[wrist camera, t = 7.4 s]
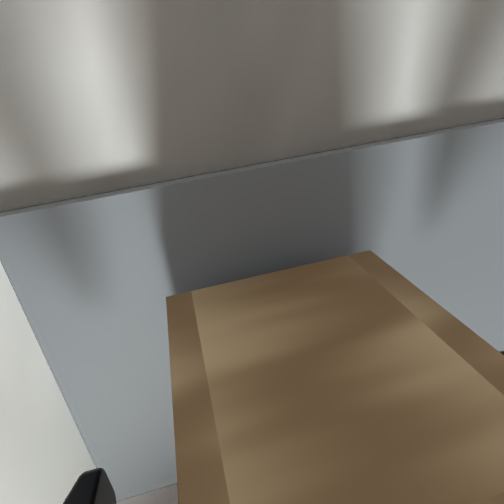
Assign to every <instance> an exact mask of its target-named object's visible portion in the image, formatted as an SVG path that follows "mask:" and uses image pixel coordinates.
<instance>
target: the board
mask: <svg viewBox="0 0 504 504" xmlns="http://www.w3.org/2000/svg"><path fill="white" fill-rule="evenodd" d="M368 250H371V251H372V252H373V253H374V254H376V255H377V256H378V257H380V258H381V259H382V260H383V261H385V262H386V263H387V264H388V265H390V266H391V267H392V268H393V269H395V270H396V271H397V272H399V273H400V274H401V275H402V276H404V277H405V278H406V279H407V280H409V281H410V282H411V283H412V284H414V285H415V286H416V287H418V288H419V289H420V290H421V291H423V292H424V293H425V294H426V295H428V296H429V297H430V298H432V299H433V300H434V301H435V302H437V303H438V304H439V305H440V306H442V307H443V308H444V309H445V310H447V311H448V312H449V313H451V314H452V315H453V316H454V317H456V318H457V319H458V320H459V321H461V322H462V323H463V324H465V325H466V326H467V327H468V328H470V329H471V330H472V331H473V332H475V333H476V334H477V335H478V336H480V337H481V338H482V339H484V340H485V341H486V342H487V343H489V344H490V345H491V346H492V347H494V348H495V349H496V350H498V351H504V118H502V119H497V120H492V121H486V122H481V123H476V124H470V125H465V126H460V127H454V128H449V129H444V130H438V131H433V132H428V133H422V134H417V135H412V136H406V137H401V138H396V139H390V140H385V141H380V142H374V143H369V144H364V145H358V146H353V147H348V148H342V149H337V150H332V151H326V152H321V153H316V154H310V155H305V156H300V157H294V158H289V159H284V160H278V161H273V162H268V163H262V164H257V165H252V166H246V167H241V168H236V169H230V170H225V171H220V172H214V173H209V174H204V175H198V176H193V177H188V178H182V179H177V180H172V181H166V182H161V183H156V184H150V185H145V186H140V187H134V188H129V189H123V190H118V191H113V192H107V193H102V194H97V195H91V196H86V197H81V198H75V199H70V200H65V201H59V202H54V203H49V204H43V205H38V206H33V207H27V208H22V209H17V210H11V211H6V212H1V213H0V261H1V263H2V265H3V268H4V270H5V272H6V274H7V276H8V278H9V281H10V283H11V285H12V287H13V289H14V291H15V293H16V296H17V298H18V300H19V302H20V304H21V306H22V309H23V311H24V313H25V315H26V317H27V319H28V322H29V324H30V326H31V328H32V330H33V332H34V334H35V337H36V339H37V341H38V343H39V345H40V347H41V350H42V352H43V354H44V356H45V358H46V360H47V363H48V365H49V367H50V369H51V371H52V373H53V375H54V378H55V380H56V382H57V384H58V386H59V388H60V391H61V393H62V395H63V397H64V399H65V401H66V404H67V406H68V408H69V410H70V412H71V414H72V416H73V419H74V421H75V423H76V425H77V427H78V429H79V432H80V434H81V436H82V438H83V440H84V442H85V445H86V447H87V449H88V451H89V453H90V455H91V457H92V460H93V462H94V464H95V466H96V468H103V469H104V470H105V471H106V474H107V476H108V478H109V480H110V482H111V485H112V487H113V489H114V492H115V495H116V502H118V501H121V500H124V499H127V498H131V497H134V496H137V495H140V494H144V493H147V492H150V491H154V490H157V489H160V488H163V487H167V486H170V485H173V484H176V483H177V470H176V454H175V438H174V421H173V405H172V389H171V373H170V356H169V340H168V324H167V307H166V297H168V296H172V295H177V294H181V293H185V292H190V291H194V290H198V289H203V288H207V287H211V286H216V285H220V284H224V283H229V282H233V281H237V280H242V279H246V278H250V277H255V276H259V275H264V274H268V273H272V272H277V271H281V270H285V269H290V268H294V267H298V266H303V265H307V264H311V263H316V262H320V261H324V260H329V259H333V258H337V257H342V256H346V255H351V254H355V253H359V252H364V251H368Z"/></svg>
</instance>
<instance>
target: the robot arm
mask: <svg viewBox="0 0 504 504" xmlns="http://www.w3.org/2000/svg"><path fill="white" fill-rule="evenodd" d="M499 352H500V353H501V354H503V355H504V351H499ZM63 504H116V495H115V492H114V489H113V487H112V485H111V482H110V480H109V478H108V476H107V474H106V471H105V470H104V469H103V468H96V469H93V470H90V471H86V472H84V473H82V474H81V475H80V477H79V478H78V480H77V481H76V483H75V485H74V486H73V488H72V490H71V491H70V493H69V494H68V496H67V498H66V499H65V501H64V503H63Z"/></svg>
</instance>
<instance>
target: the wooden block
mask: <svg viewBox="0 0 504 504" xmlns="http://www.w3.org/2000/svg"><path fill="white" fill-rule="evenodd" d="M166 307H167V324H168V340H169V356H170V373H171V389H172V405H173V421H174V438H175V454H176V470H177V487H178V503H179V504H504V355H503V354H501V353H500V352H499V351H498V350H496V349H495V348H494V347H492V346H491V345H490V344H489V343H487V342H486V341H485V340H484V339H482V338H481V337H480V336H478V335H477V334H476V333H475V332H473V331H472V330H471V329H470V328H468V327H467V326H466V325H465V324H463V323H462V322H461V321H459V320H458V319H457V318H456V317H454V316H453V315H452V314H451V313H449V312H448V311H447V310H445V309H444V308H443V307H442V306H440V305H439V304H438V303H437V302H435V301H434V300H433V299H432V298H430V297H429V296H428V295H426V294H425V293H424V292H423V291H421V290H420V289H419V288H418V287H416V286H415V285H414V284H412V283H411V282H410V281H409V280H407V279H406V278H405V277H404V276H402V275H401V274H400V273H399V272H397V271H396V270H395V269H393V268H392V267H391V266H390V265H388V264H387V263H386V262H385V261H383V260H382V259H381V258H380V257H378V256H377V255H376V254H374V253H373V252H372V251H371V250H368V251H364V252H359V253H355V254H351V255H346V256H342V257H337V258H333V259H329V260H324V261H320V262H316V263H311V264H307V265H303V266H298V267H294V268H290V269H285V270H281V271H277V272H272V273H268V274H264V275H259V276H255V277H250V278H246V279H242V280H237V281H233V282H229V283H224V284H220V285H216V286H211V287H207V288H203V289H198V290H194V291H190V292H185V293H181V294H177V295H172V296H168V297H166Z"/></svg>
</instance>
